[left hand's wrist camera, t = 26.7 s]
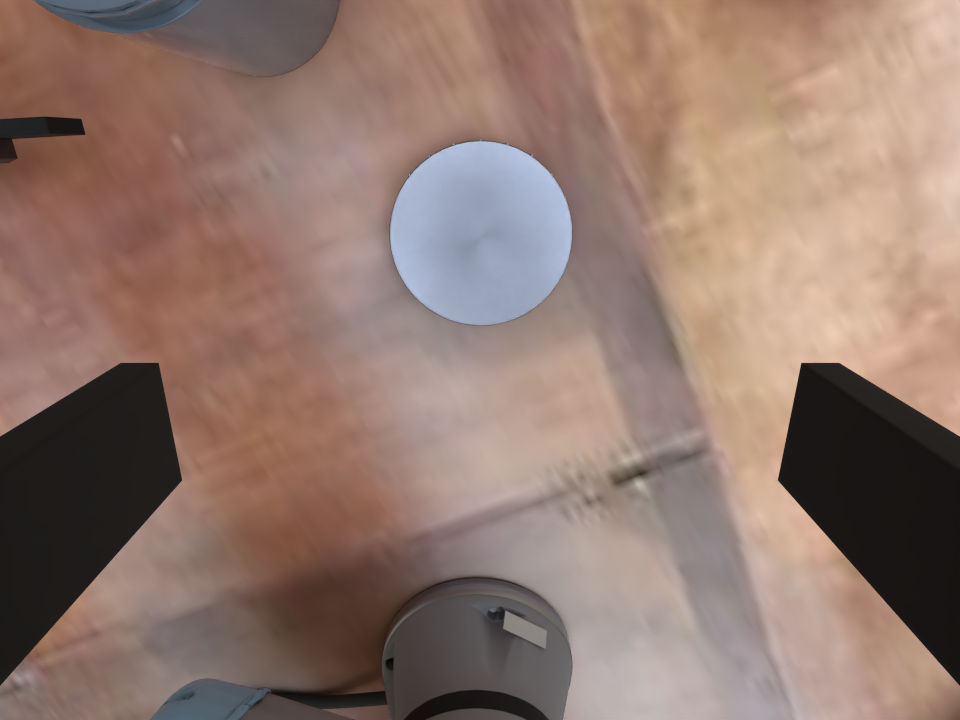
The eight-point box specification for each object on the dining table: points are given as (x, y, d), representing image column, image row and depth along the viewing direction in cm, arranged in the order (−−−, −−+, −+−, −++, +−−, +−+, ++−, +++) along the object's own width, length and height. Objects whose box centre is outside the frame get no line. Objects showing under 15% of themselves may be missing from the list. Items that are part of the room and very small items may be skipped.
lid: (572, 138, 35) (577, 138, 33) (564, 317, 39) (568, 326, 37) (388, 139, 35) (383, 139, 33) (398, 318, 39) (394, 327, 37)
